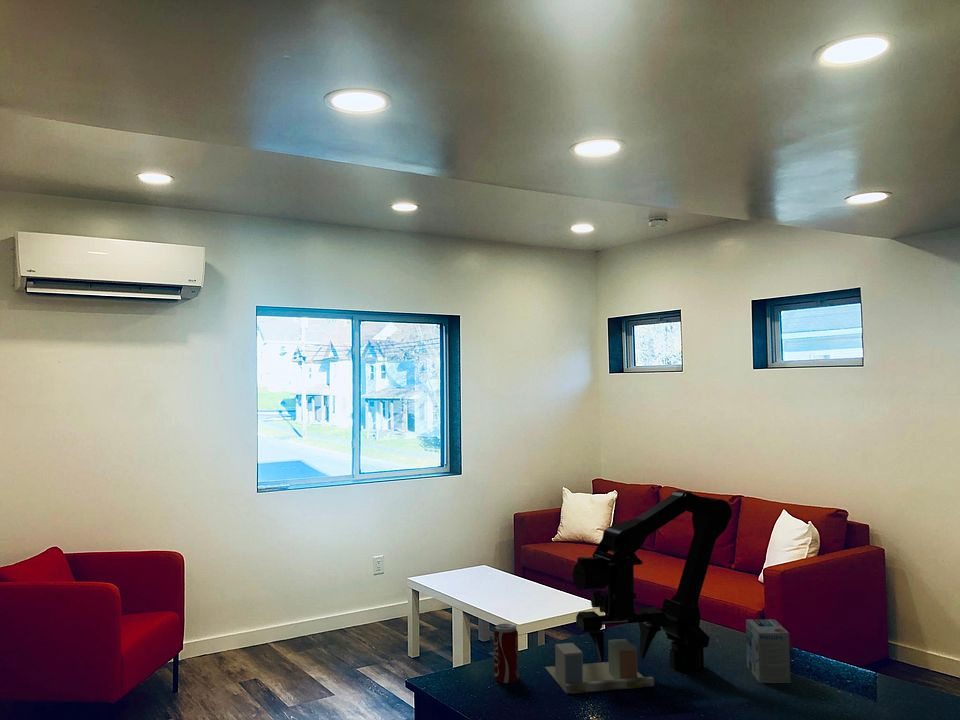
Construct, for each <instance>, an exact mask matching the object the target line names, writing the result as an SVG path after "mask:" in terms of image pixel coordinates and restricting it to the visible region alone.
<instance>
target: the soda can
mask: <svg viewBox="0 0 960 720" xmlns="http://www.w3.org/2000/svg"><path fill="white" fill-rule="evenodd" d="M517 629H518V628H517V626H516V625H515V624H513V623H499V624H496V625H495V629H494V631H493V670H494V671H493V675H494V676H493V680H494V681H496V682H498V683H502V684H510V683H512V684H513V683H516V682H517V681H518V680H519V633H518V632H519V631H518V630H517Z"/></svg>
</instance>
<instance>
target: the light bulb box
mask: <svg viewBox="0 0 960 720" xmlns="http://www.w3.org/2000/svg"><path fill="white" fill-rule="evenodd" d="M745 631H746V633H745V634H746V637H745V638H746V639H745V640H746V667H747V668H748V671H750V673H751V674H752V675H753V676H755V677H754V678H755V680H756V681H757V680H758V681H759V682H761V683H762V684H763V683H791V656H790V633H789V631H787V630H786V629H785V628H784V626H782V625H781V624H780V623H779V622H778V621H777V620H776V619H771V618H770V619H745ZM758 681H757V682H758ZM759 682H758V683H759ZM761 683H760V684H761Z"/></svg>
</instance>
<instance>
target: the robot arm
mask: <svg viewBox="0 0 960 720" xmlns="http://www.w3.org/2000/svg"><path fill="white" fill-rule="evenodd" d="M685 512H688V513H691V514H692V516H691V522H692V529H693V536H692V539H691V542H690V547H689V550H688V552H687V556H686V560H685V563H684V566H683V569H682V572H681V573H682V574H681V576H680V580H679V583H678V586H677V590H676V593H675V594H674V595H673V596H672V597H671V598H670V599H669V598H666V597H665V598H664V599H663V601H662V607H661V610H660V609H658V608H657V607H656V606H655V607H654V606H653V607H641V608H640V609H639V612H636V611H635V599H637V593H636V592H635V571H634V569H635V568H634V567H635V566H639V565H640V566H641V565H643V563H644V561H643V560H641V559H640V558H639V557H638V555H636V552H637V551H638V550H640V548H642V547H643V545H644V543H645V542H646V539H648V537H650V536H651V535H652V534H653V533H655V532H657V531H658V530H659V529H660V528H663V527H664V526H665V525H666V524H668V523H670V522H672V520H674V519H676V518H677V517H679V516H680V515H682V514H683V513H685ZM732 515H733V509H732V508H731V505H730V503H729V502H728V501H726V500H724V499H720V498H716V497H709V496H700V495H697V494H694V493H692V492H690V491H687V490H686V491H685V490H674V491H673V492H672V493H671V494H670V495H669V496H668V497H666V498H664V499H663V500H661V501H660V502H658V503H657V504H655V505H654V506H652V507H651V508H648V509H647V510H646V511H644V512H643V513H641V514H639V515H637V517H634V518H632V519H629V520H624V521H619V522H617V523H615V524H613V525H610V526H608V527H606V528H605V530H603V533H602V534H603V535H602V538H601V540H600V542H599V543H598V545H597V547H596V548H595V551H593V554H592V556H589V557H584V556H581V557H580V556H578V557H577V561H576V564H575V565H574V567H573V571H572V581H573V584H574V587H575V588H576V590H577V591H578V592H583V591H593V590H601V589H605V591H604V595H602V592H601V591H596V592H590V605H591V607H592V608H593V609H595V608H599V612H600V613H604V614H607V615H600V614H598V613H597V612H595V611H594V610H592V611H591V610H589V611H579V612H578V613H577V614H576V617H575V622H576V623H575V624H576V626H577V627H578V628H579V629H580V630H581V631H583V632H586V633H587V635H589V636H590V637H591V640H592V641H593V644H594V648H595V649H596V653H597V656H598V659H599V661H600V663H601V662H604V661H605V660H604V658H605V639H604V635H605V634H604V633H605V632H603V631H602V630H601V629H602V628H603V626H607V625H608V626H609V625H621V624H634V623H635V624H637V623H638V626H639V627H638V628H639V631H640V632H639V633H640V635H639V655H640V659H642V660H644V659H645V658H646V654H647V652H648V651H649V648H650V646H651V644H652V642H653V640H654V639H655V637H656V634H657V633H658V632H661V631H662V630H663V632H664V633H665V635H666V637H667V639H668V640H670V641H671V645H670V646H671V648H670V649H669V667H670V668H671V669H672V670H674V671H679V672H680V671H681V672H682V671H683V672H689V673H691V672H692V673H693V672H694V673H695V672H699V671H701V670H704V669H705V657H704V649H705V648H708V647H709V643H710V639H711V638H710V636H709V635H708V634H707V633H706V632H705V631H704V630H703V629H702V628H701V627H700V624H701V610H700V604H699V599H700V596H701V592H702V589H703V586H704V583H705V580H706V576H707V573H708V568H709V566H710V565H709V564H710V562H711V559H712V555H713V552H714V548H715V545H716V541H717V539H718V538H720V536H721V535H722V534H723V533H724V532H725V531H726V530H727V528H728V525H729V524H730V522H731V519H732ZM609 552H610V553H609Z"/></svg>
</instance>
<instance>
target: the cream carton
mask: <svg viewBox="0 0 960 720" xmlns="http://www.w3.org/2000/svg"><path fill="white" fill-rule="evenodd" d="M554 646H555V647H554V648H555V649H554V651H555V652H554V653H555V654H554V655H555V666H556V678H557V679H558V681H559V682H560V683H561V684H562V686H563V687H564V688H565V684H568V683H580V682H583V664H584V663H583V662H584V660H583V659H584V656H583V655H584V653H583V651H582V650H581V649H580V648H579V647H578V646H577V645H575V643H574V642H568V643H555V644H554Z"/></svg>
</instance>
